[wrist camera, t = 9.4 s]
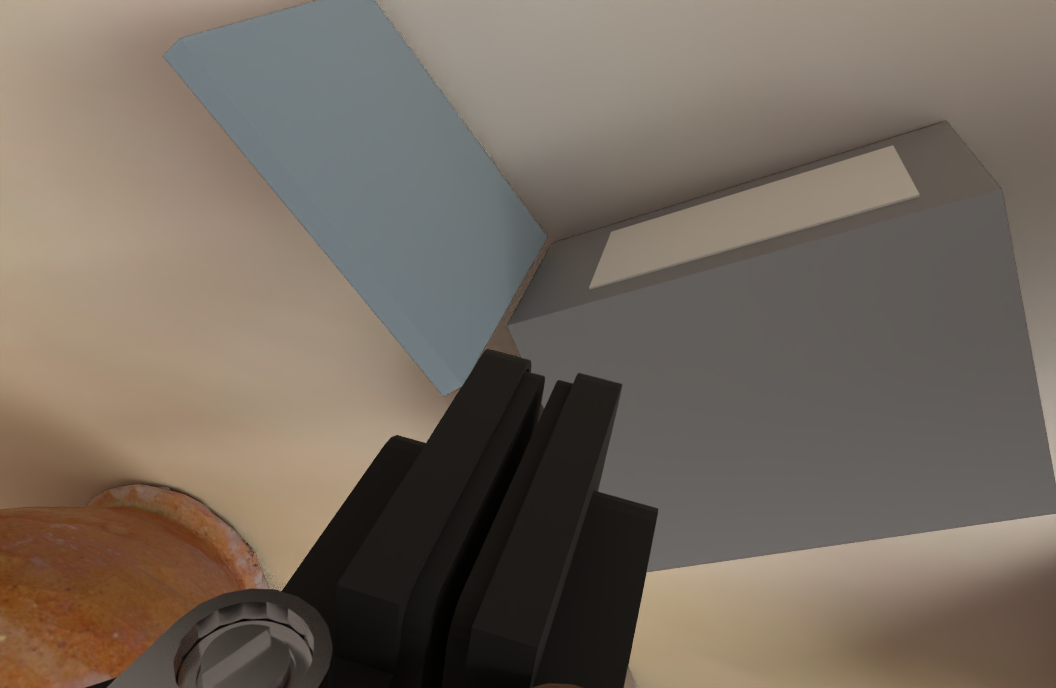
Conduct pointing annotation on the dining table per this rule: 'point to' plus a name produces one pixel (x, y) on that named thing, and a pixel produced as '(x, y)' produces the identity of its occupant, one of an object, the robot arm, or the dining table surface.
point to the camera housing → (807, 355)
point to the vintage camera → (629, 680)
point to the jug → (108, 581)
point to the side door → (372, 170)
